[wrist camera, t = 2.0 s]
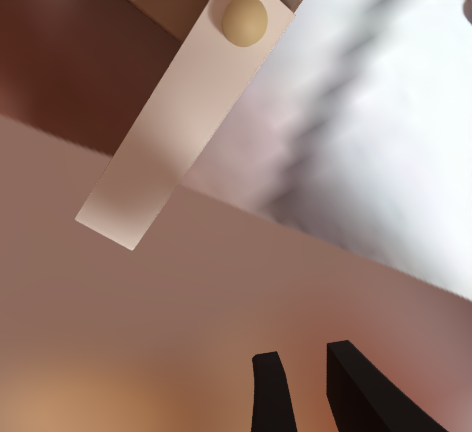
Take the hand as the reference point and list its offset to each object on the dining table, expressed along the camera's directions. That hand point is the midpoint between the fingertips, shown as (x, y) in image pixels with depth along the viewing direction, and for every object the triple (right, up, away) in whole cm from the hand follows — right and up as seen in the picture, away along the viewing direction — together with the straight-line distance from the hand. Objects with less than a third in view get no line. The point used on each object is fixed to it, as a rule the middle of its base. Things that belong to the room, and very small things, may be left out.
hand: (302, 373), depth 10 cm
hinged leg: (-4, +9, +5) cm, 11 cm away
